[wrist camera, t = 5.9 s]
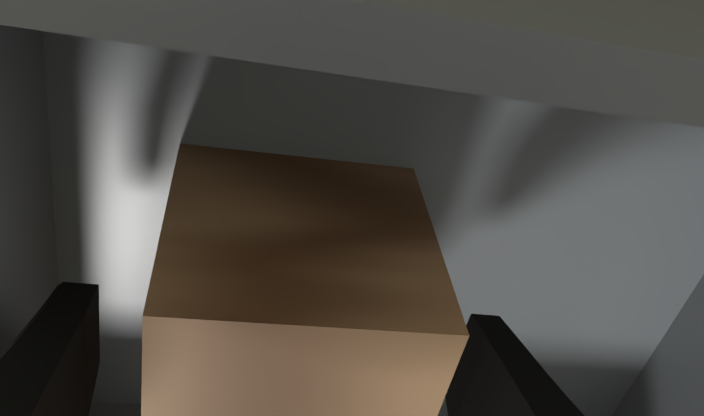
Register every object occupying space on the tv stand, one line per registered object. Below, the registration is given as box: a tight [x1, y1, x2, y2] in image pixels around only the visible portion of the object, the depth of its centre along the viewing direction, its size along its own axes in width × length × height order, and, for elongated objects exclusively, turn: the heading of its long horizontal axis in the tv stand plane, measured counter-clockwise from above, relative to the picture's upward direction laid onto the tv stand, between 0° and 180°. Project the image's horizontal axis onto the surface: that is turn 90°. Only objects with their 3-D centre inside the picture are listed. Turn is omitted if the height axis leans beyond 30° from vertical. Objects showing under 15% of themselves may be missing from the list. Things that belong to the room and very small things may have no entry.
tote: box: [0, 0, 704, 416], centre depth 15 cm, size 18×14×5 cm
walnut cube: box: [141, 143, 469, 416], centre depth 14 cm, size 5×5×5 cm
